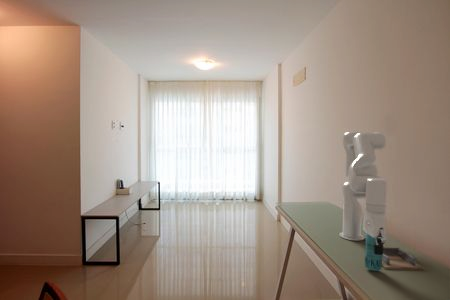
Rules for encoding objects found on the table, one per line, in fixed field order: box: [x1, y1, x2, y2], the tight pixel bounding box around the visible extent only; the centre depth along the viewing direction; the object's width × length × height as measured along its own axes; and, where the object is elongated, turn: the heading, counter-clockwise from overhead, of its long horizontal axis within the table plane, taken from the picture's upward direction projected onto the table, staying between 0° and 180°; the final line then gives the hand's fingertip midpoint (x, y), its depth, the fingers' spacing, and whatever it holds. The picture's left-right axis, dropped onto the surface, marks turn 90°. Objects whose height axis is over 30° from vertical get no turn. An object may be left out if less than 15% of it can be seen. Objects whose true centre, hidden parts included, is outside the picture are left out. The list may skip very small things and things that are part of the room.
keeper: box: [382, 246, 424, 271], centre depth 123 cm, size 16×16×4 cm
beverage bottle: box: [364, 233, 383, 272], centre depth 113 cm, size 6×7×20 cm
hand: (373, 250), depth 113 cm, fingers closed on beverage bottle, 6 cm apart
